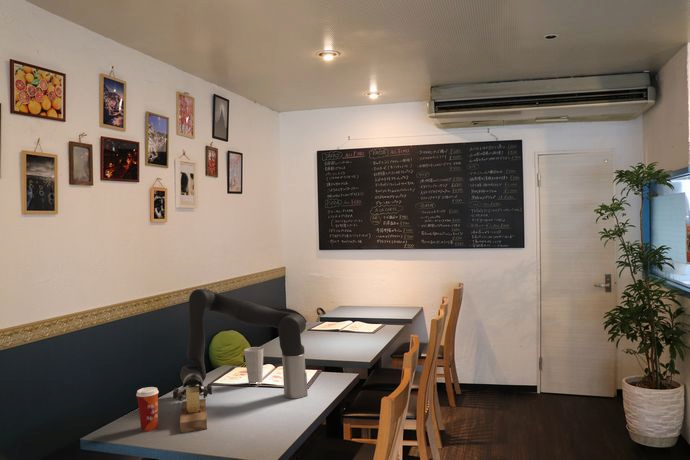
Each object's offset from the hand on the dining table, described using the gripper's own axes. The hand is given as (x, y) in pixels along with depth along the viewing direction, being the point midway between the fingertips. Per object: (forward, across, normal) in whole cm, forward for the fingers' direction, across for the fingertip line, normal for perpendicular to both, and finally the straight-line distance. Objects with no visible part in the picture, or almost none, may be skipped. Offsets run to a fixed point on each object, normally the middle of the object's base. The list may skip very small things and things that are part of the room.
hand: (192, 396), depth 210 cm
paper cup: (+1, -16, +9) cm, 18 cm away
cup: (-39, +26, +9) cm, 48 cm away
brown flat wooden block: (-2, 0, +9) cm, 9 cm away
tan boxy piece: (-2, 0, +9) cm, 9 cm away
